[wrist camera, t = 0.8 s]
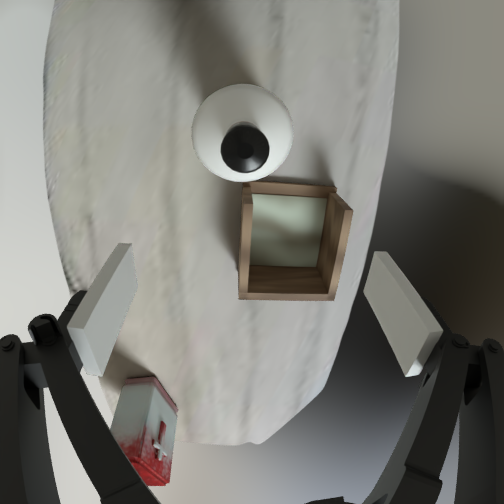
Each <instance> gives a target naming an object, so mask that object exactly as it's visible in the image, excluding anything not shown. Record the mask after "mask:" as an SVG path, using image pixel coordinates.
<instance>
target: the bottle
mask: <svg viewBox="0 0 504 504" xmlns="http://www.w3.org/2000/svg"><path fill="white" fill-rule="evenodd" d="M125 383H126V385H124V386H123V387H122V391H121V394H120V397H119V401H118V404H117V407H116V411H115V414H114V418H113V421H112V425H111V429H110V431H111V432H112V434H113V436H114V437H115V439H116V440H117V442H118V444H119V445H120V447H121V448H122V450H123V452H124V453H125V455H126V456H127V458H128V459H129V461H130V462H131V464H132V465H133V467H134V468H135V469H136V471H137V472H138V474H139V475H140V477H141V478H142V479H143V481H144V482H145V483H146V485H147V486H165V485H166V484H167V483H169V482H170V473H171V464H172V454H173V447H174V439H175V431H176V423H177V414H176V412H177V411H178V409H177V407H176V406H175V404H174V403H173V402H172V400H171V399H170V397H169V396H168V395H167V393H166V392H165V390H164V389H163V387H162V386H161V384H160V383H159V382H158V380H157V379H156V378H155V377H145V378H133V379H126V380H125Z"/></svg>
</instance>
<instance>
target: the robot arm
mask: <svg viewBox="0 0 504 504" xmlns="http://www.w3.org/2000/svg"><path fill="white" fill-rule="evenodd" d="M137 288H138V282H137V276H136V270H135V263H134V257H133V250H132V244H126V243H118V245H117V246H116V248H115V249H114V251H113V252H112V254H111V255H110V257H109V258H108V260H107V261H106V263H105V264H104V266H103V267H102V269H101V271H100V272H99V274H98V275H97V277H96V278H95V280H94V282H93V283H92V285H91V286H90V288H89V290H88V291H82V290H80V291H79V292H77V293H76V294H75V295H74V296H72V298H71V299H70V301H69V303H68V305H67V306H66V307H65V309H64V311H63V312H62V314H61V316H60V317H59V319H58V320H57V319H56V318H55V317H54V316H53V315H51V314H42V315H39V316H37V317H35V318H34V319H33V320H32V321H31V322H30V323H29V325H28V331H29V333H30V336H31V338H32V340H33V342H27V343H22V342H21V341H20V339H19V337H18V336H17V335H14V334H12V335H11V334H10V335H6V336H4V337H2V338H1V339H0V504H61V503H60V499H59V495H58V491H57V487H56V482H55V478H54V472H53V467H52V462H51V456H50V449H49V443H48V436H47V427H46V418H45V406H44V392H43V388H46V387H49V390H50V393H51V395H52V398H53V401H54V403H55V406H56V408H57V411H58V413H59V416H60V418H61V421H62V423H63V425H64V428H65V430H66V432H67V434H68V437H69V439H70V441H71V443H72V445H73V447H74V449H75V451H76V453H77V455H78V457H79V459H80V461H81V463H82V465H83V467H84V469H85V471H86V473H87V475H88V476H89V478H90V480H91V481H92V483H93V485H94V487H95V489H96V490H97V492H98V494H99V496H100V498H101V499H100V501H101V504H161V503H160V502H159V501H158V500H157V498H156V497H155V496H154V494H153V493H152V492H151V490H150V489H149V488H148V486H147V485H146V483H145V482H144V481H143V479H142V478H141V477H140V475H139V474H138V472H137V471H136V469H135V468H134V467H133V465H132V464H131V462H130V461H129V459H128V458H127V456H126V455H125V453H124V452H123V450H122V448H121V447H120V445H119V444H118V442H117V440H116V439H115V437H114V436H113V434H112V432H111V431H110V429H109V427H108V425H107V424H106V422H105V420H104V418H103V417H102V415H101V413H100V411H99V409H98V408H97V406H96V404H95V402H94V400H93V398H92V397H91V394H90V392H89V391H88V388H87V386H86V384H85V382H84V380H83V378H82V376H81V374H80V371H81V368H82V366H83V367H84V369H85V371H86V373H87V374H89V375H95V376H101V377H103V374H104V371H105V368H106V366H107V363H108V360H109V358H110V355H111V352H112V350H113V347H114V344H115V342H116V339H117V337H118V334H119V332H120V329H121V327H122V324H123V322H124V319H125V317H126V314H127V312H128V309H129V307H130V305H131V302H132V300H133V298H134V295H135V293H136V291H137ZM364 294H365V296H366V298H367V300H368V302H369V303H370V305H371V307H372V309H373V311H374V313H375V315H376V317H377V319H378V321H379V323H380V325H381V327H382V329H383V331H384V333H385V335H386V336H387V339H388V341H389V343H390V345H391V347H392V349H393V351H394V353H395V355H396V357H397V360H398V362H399V364H400V366H401V368H402V370H403V372H404V374H405V377H408V376H413V375H419V373H420V372H421V370H422V368H423V367H424V366H425V368H426V370H427V373H426V375H425V376H424V378H423V379H422V381H421V383H420V384H419V386H418V387H419V388H420V390H419V393H418V395H417V398H416V401H415V403H414V406H413V408H412V411H411V413H410V416H409V418H408V420H407V423H406V425H405V427H404V430H403V432H402V434H401V436H400V438H399V441H398V443H397V445H396V447H395V449H394V451H393V453H392V455H391V457H390V459H389V461H388V463H387V465H386V467H385V469H384V471H383V473H382V475H381V476H380V478H379V480H378V482H377V484H376V486H375V487H374V489H373V490H372V492H371V493H370V495H369V496H368V497H367V498H366V500H365V501H364V502H363V503H362V504H435V503H436V501H437V499H438V496H439V494H440V491H441V488H442V480H440V479H439V476H440V472H441V470H442V467H443V464H444V461H445V458H446V455H447V452H448V449H449V446H450V442H451V439H452V435H453V431H454V428H455V425H456V421H457V417H458V413H460V414H459V419H460V429H459V430H460V432H459V435H460V436H459V459H458V460H459V461H458V473H457V484H456V493H455V501H454V504H504V350H503V348H502V346H501V345H500V344H499V342H497V341H496V340H493V339H490V338H488V339H485V340H484V341H483V343H482V344H481V346H476V345H470V343H469V341H468V340H467V339H466V338H465V337H464V336H462V335H460V334H456V333H452V331H451V330H450V328H449V327H448V326H447V324H446V323H445V321H444V320H443V318H442V317H441V316H440V314H439V312H438V311H436V308H435V307H434V305H433V304H432V303H431V302H430V301H429V300H427V299H426V298H425V297H420V296H419V295H418V293H417V292H416V290H415V289H414V288H413V286H412V285H411V283H410V282H409V281H408V279H407V278H406V277H405V275H404V274H403V273H402V271H401V270H400V269H399V267H398V266H397V265H396V264H395V262H394V261H393V260H392V258H391V257H390V256H389V254H388V253H387V252H374V256H373V260H372V264H371V268H370V271H369V275H368V278H367V282H366V285H365V288H364ZM306 504H354V503H349V502H344V499H343V496H342V497H336V498H330V499H323V500H316V501H311V502H309V503H306Z"/></svg>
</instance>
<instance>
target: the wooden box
mask: <svg viewBox="0 0 504 504" xmlns="http://www.w3.org/2000/svg"><path fill="white" fill-rule="evenodd" d="M336 192H337V188H336V187H335V186H325V185H313V184H301V183H287V182H271V181H248V182H243V188H242V206H241V225H240V244H239V264H238V290H239V299H242V300H288V301H334V299H335V295H336V291H337V287H338V283H339V278H340V274H341V269H342V265H343V260H344V256H345V251H346V246H347V241H348V236H349V231H350V226H351V221H352V215H353V210H352V209H351V208H350V207H349V206H348V204H347V203H346V202H345V201H344V200H343V199H342V198H341V197H340V196H339V195H338V194H337V193H336Z"/></svg>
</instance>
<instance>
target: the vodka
mask: <svg viewBox="0 0 504 504" xmlns="http://www.w3.org/2000/svg"><path fill="white" fill-rule="evenodd" d="M293 135H294V129H293V122H292V118H291V116H290V113H289V111H288V109H287V108H286V106H285V105H284V103H283V102H282V101H281V100H280V99H279V98H278V97H277V96H276V95H275V94H274V93H272V92H270V91H268V90H267V89H265V88H263V87H259V86H256V85H252V84H235V85H229V86H226V87H224V88H221V89H219V90H217V91H215V92H214V93H212V94H211V95H210V96H208V97H207V98H206V99H205V101H204V102H203V103H202V104H201V105H200V107H199V108H198V110H197V112H196V114H195V116H194V120H193V124H192V136H191V137H192V142H193V147H194V150H195V152H196V154H197V156H198V158H199V160H200V161H201V162H202V163H203V165H204V166H205V167H206V168H207V169H208V170H210V171H211V172H212V173H213V174H215V175H217V176H219V177H221V178H223V179H227V180H230V181H234V182H248V181H254V180H258V179H261V178H263V177H266V176H268V175H269V174H271V173H272V172H274V171H275V170H276V169H277V168H278V167H279V166H280V165H281V164H282V163H283V162H284V161H285V159H286V157H287V156H288V154H289V152H290V149H291V146H292V143H293Z"/></svg>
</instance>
